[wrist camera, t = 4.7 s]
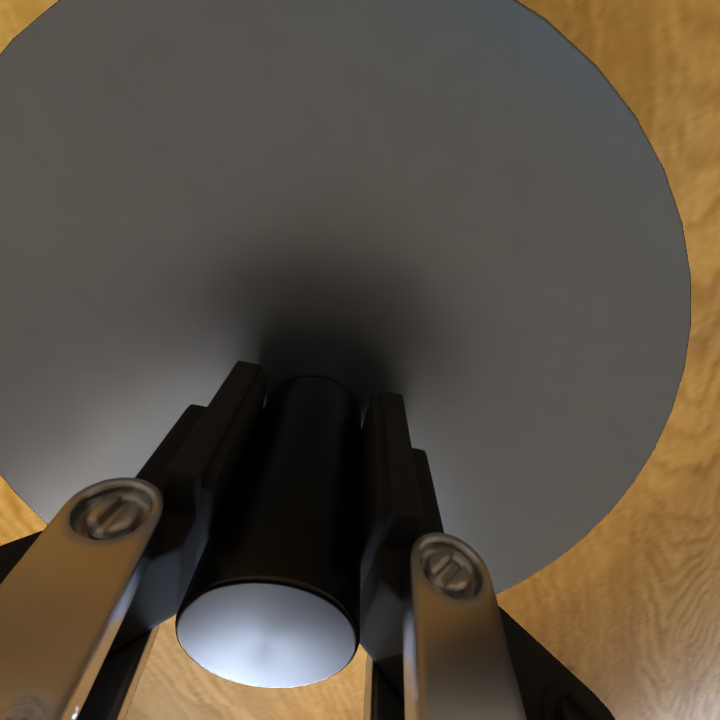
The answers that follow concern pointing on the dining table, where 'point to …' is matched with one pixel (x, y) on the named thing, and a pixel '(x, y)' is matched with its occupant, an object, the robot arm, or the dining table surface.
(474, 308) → the lid
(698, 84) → the dining table surface
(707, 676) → the dining table surface
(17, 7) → the dining table surface
